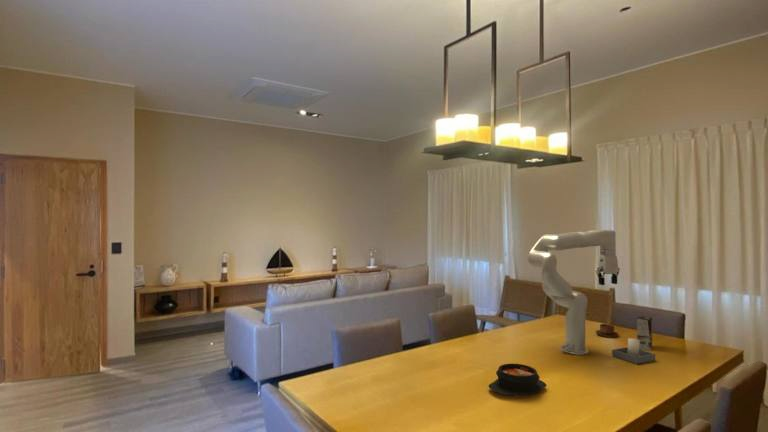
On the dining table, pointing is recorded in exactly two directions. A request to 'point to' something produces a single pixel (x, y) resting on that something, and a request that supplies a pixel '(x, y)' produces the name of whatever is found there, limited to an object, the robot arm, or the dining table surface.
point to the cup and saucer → (607, 331)
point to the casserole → (517, 380)
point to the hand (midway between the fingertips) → (607, 284)
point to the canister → (633, 347)
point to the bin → (643, 356)
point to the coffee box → (644, 332)
